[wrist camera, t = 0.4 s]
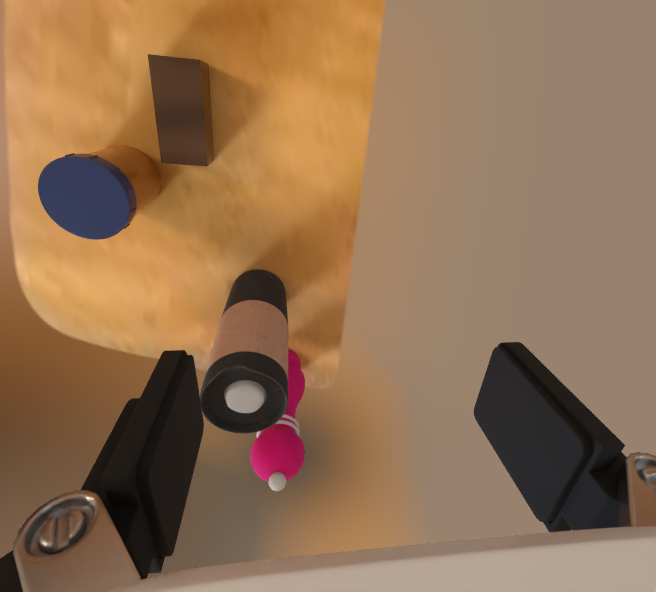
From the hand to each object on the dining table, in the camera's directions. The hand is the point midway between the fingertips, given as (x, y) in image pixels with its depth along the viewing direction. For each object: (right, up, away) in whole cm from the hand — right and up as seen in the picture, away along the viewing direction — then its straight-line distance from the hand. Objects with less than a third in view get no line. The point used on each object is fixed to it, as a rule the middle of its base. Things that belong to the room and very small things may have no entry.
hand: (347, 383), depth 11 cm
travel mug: (-10, +3, +37) cm, 38 cm away
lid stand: (-15, +22, +26) cm, 37 cm away
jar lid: (-22, +11, +20) cm, 31 cm away
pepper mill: (-8, -7, +43) cm, 44 cm away
